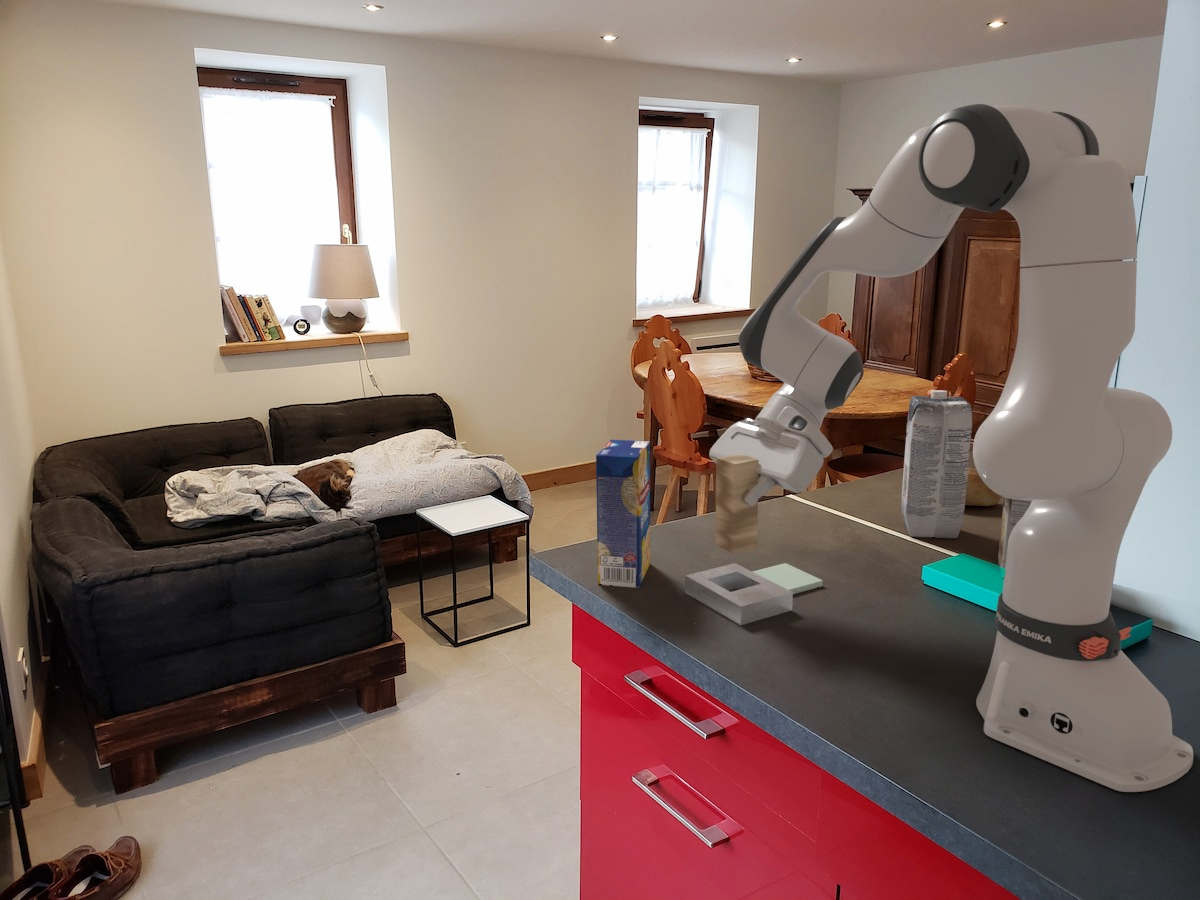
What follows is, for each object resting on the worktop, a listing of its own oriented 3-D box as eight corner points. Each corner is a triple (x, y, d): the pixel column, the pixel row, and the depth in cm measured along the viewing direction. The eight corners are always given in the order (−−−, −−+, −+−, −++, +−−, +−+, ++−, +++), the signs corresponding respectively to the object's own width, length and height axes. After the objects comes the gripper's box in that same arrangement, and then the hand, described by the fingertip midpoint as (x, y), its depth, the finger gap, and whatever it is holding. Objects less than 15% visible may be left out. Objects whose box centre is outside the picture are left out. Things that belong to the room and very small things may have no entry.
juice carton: (964, 541, 164) (978, 397, 157) (905, 539, 166) (916, 396, 159) (953, 525, 173) (966, 388, 166) (897, 523, 174) (907, 387, 168)
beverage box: (650, 563, 156) (650, 441, 150) (638, 588, 145) (638, 457, 140) (611, 560, 157) (610, 439, 152) (597, 584, 147) (595, 455, 141)
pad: (822, 586, 145) (822, 580, 145) (780, 598, 141) (780, 592, 140) (785, 568, 152) (785, 563, 152) (743, 579, 148) (743, 573, 148)
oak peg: (756, 548, 137) (758, 459, 134) (733, 553, 135) (734, 463, 132) (738, 539, 141) (739, 453, 138) (715, 545, 139) (716, 457, 135)
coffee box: (996, 559, 155) (1005, 470, 151) (1036, 563, 153) (1046, 473, 149) (1000, 579, 147) (1010, 485, 143) (1043, 583, 145) (1054, 488, 141)
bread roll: (1005, 514, 179) (1009, 475, 177) (927, 510, 182) (930, 473, 180) (994, 499, 188) (998, 463, 186) (920, 496, 191) (923, 460, 189)
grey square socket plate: (792, 610, 136) (792, 592, 135) (740, 625, 131) (740, 606, 130) (734, 580, 148) (735, 563, 147) (685, 592, 143) (685, 575, 142)
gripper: (731, 405, 145) (682, 471, 143) (820, 425, 128) (765, 502, 126) (752, 428, 148) (704, 494, 146) (841, 451, 131) (789, 526, 129)
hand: (733, 498), depth 136 cm, fingers closed on oak peg, 4 cm apart
